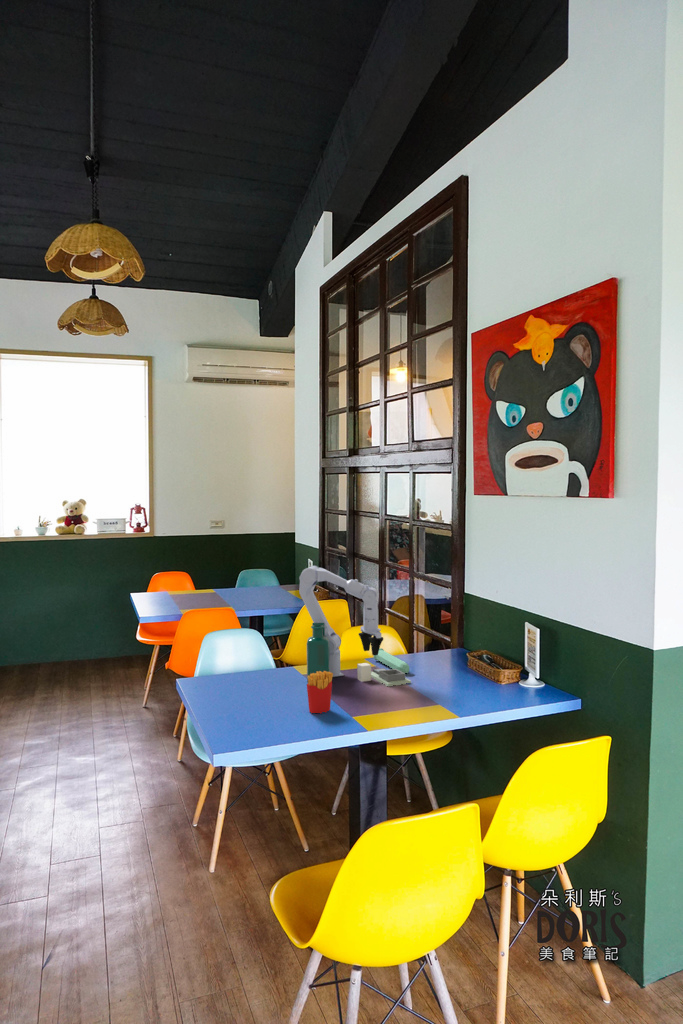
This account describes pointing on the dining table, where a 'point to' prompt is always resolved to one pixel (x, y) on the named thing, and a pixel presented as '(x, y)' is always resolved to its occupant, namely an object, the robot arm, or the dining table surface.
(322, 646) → the green bottle
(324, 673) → the french fries
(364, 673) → the block
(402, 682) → the outlet plate
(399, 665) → the container
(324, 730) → the dining table surface
